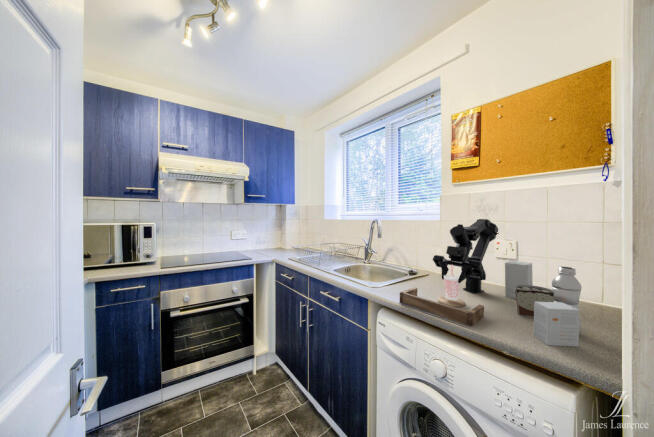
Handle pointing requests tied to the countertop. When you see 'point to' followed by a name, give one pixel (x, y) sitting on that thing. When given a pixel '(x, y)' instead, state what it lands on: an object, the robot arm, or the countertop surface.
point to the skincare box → (517, 276)
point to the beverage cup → (451, 286)
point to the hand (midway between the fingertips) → (450, 280)
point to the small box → (556, 323)
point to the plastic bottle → (567, 288)
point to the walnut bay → (442, 308)
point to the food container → (531, 298)
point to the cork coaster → (451, 302)
